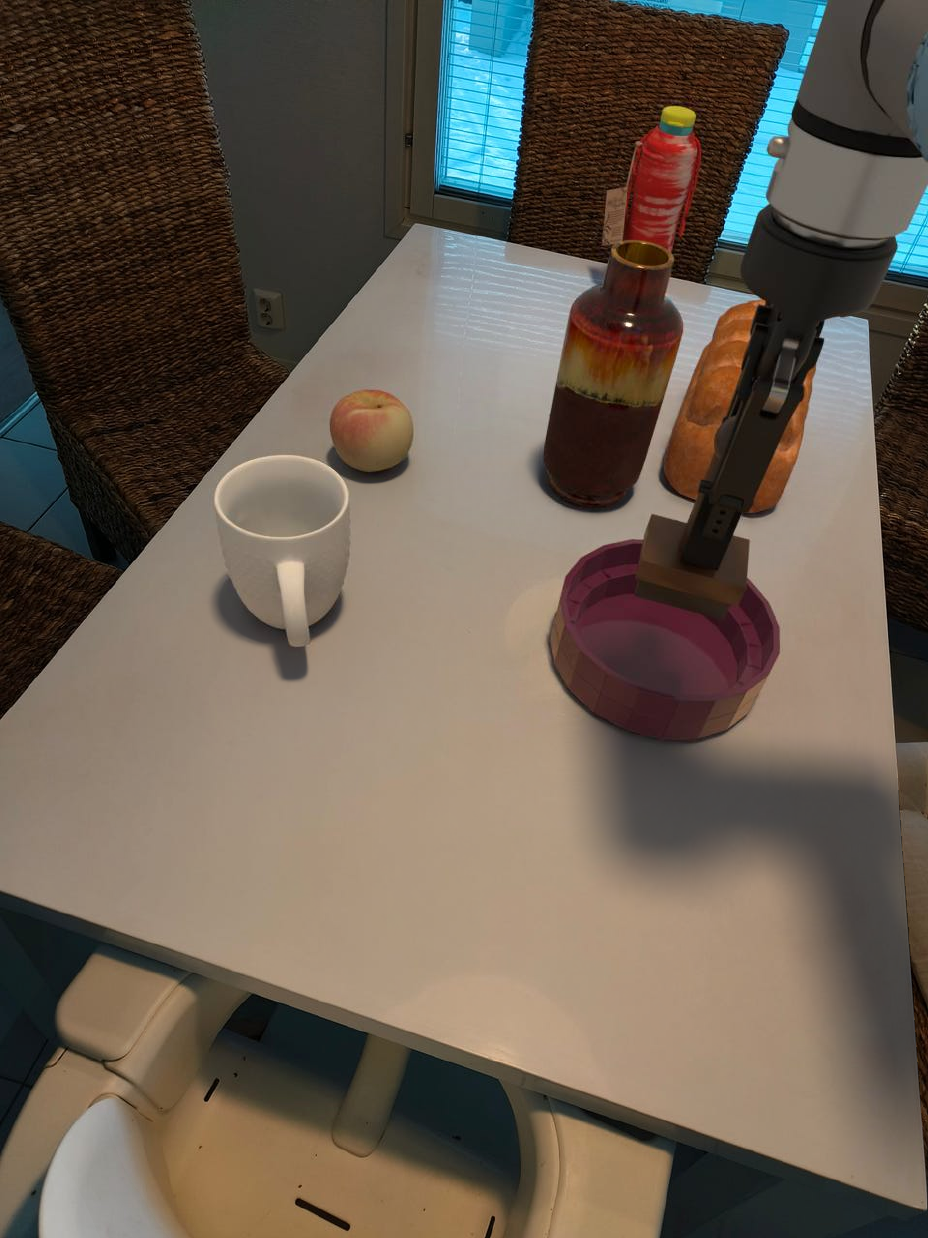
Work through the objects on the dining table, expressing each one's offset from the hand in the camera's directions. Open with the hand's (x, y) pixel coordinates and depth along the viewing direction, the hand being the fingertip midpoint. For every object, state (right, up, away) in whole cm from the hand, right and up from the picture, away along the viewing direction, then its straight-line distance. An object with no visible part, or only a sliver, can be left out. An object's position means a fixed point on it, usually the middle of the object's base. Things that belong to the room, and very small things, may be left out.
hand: (702, 547), depth 62 cm
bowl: (0, -9, +16) cm, 19 cm away
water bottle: (+7, +45, +67) cm, 81 cm away
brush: (-1, -3, +3) cm, 4 cm away
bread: (+15, +16, +41) cm, 46 cm away
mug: (-33, -5, +16) cm, 37 cm away
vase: (-4, +10, +34) cm, 35 cm away
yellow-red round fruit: (-28, +12, +33) cm, 45 cm away
